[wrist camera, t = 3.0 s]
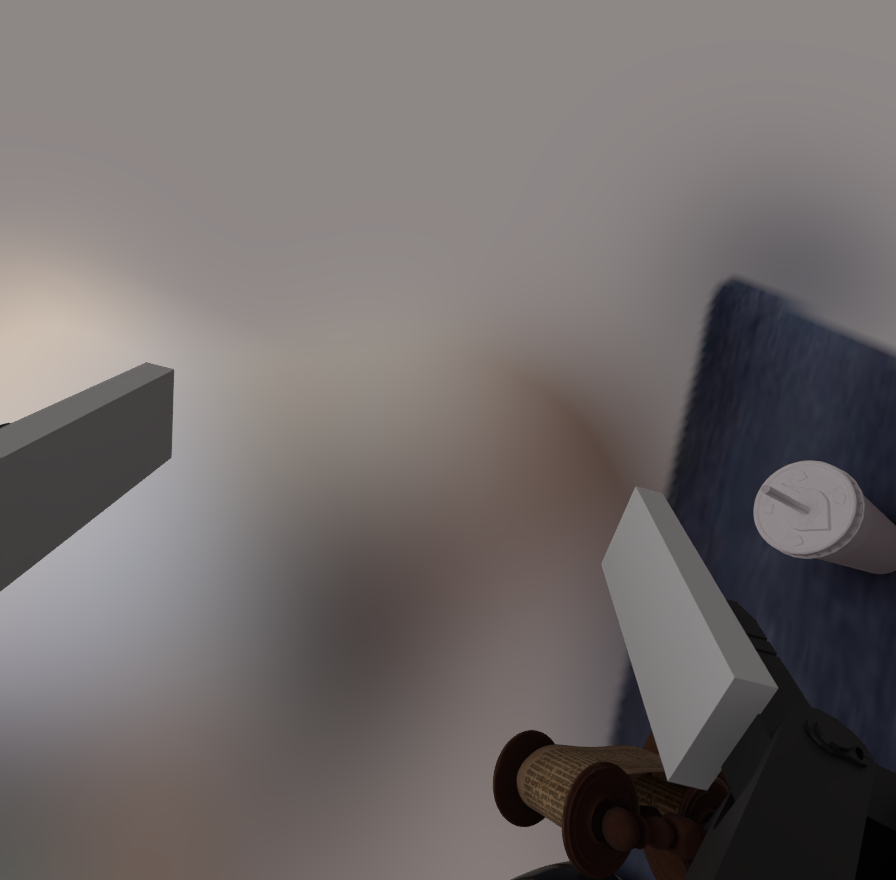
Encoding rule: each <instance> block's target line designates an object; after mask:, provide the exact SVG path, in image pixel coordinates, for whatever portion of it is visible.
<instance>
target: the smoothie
mask: <svg viewBox="0 0 896 880" xmlns="http://www.w3.org/2000/svg"><path fill="white" fill-rule="evenodd" d="M754 520H755V524H756V527H757V529H758V531H759V533H760V535H761V536H762V537H763V539H764V540H765V541H766V542H767V543H769V544H770V545H771V546H773V547H774V548H776V549H778V550H779V551H781V552H782V553H785V554H787V555H790V556H793V557H796V558H805V559H812V558H817V559H821V560H825V561H828V562H832V563H836V564H840V565H843V566H847V567H851V568H855V569H858V570H862V571H866V572H870V573H874V574H887V573H891V572H894V571H896V525H894V524H893V523H892V522H891V521H890V520H889V519H888V518H887V517H886V516H885V515H884V514H883V513H882V512H881V511H880V510H879V509H877V508H876V507H875V506H874V505H873V504H872V503H871V502H870V501H869V500H868V499H867V498H866V497H865V496H864V495H863V493H862V491H861V489H860V487H859V486H858V484H857V482H856V481H855V480H854V479H853V478H852V477H851V476H850V475H849V474H847V473H846V472H844V471H842V470H840V469H838V468H836V467H834V466H832V465H830V464H827V463H824V462H820V461H800V462H796V463H792V464H789V465H787V466H785V467H783V468H781V469H779V470H778V471H776V472H775V473H773V474H772V475H771V476H770V477H769V478H768V479H767V480H766V481H765V482H764V484H763V485H762V487H761V488H760V490H759V492H758V494H757V496H756V499H755V504H754Z"/></svg>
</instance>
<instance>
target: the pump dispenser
mask: <svg viewBox="0 0 896 880" xmlns="http://www.w3.org/2000/svg"><path fill="white" fill-rule="evenodd" d="M511 880H623V879H621V878H620V877H619V876H617V875H616V874H614V873H613V874H612V875H610V876H608V877H605V878H602V879H592V878H588V877H586V876H584V875H583V874H581V873H580V872H579V871H578V870H576V868H575V867H574V866H573V865H572V863H571V862H570V861H567V862H561V863H556V864H552V865H548V866H544V867H541V868H538V869H535V870H532V871H530V872H527V873H525V874H523V875H520V876H518V877H516V878H513V879H511Z"/></svg>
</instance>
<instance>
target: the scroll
mask: <svg viewBox="0 0 896 880" xmlns="http://www.w3.org/2000/svg"><path fill="white" fill-rule="evenodd" d="M730 791H731V790H730V788H729V785H728V783H727V781H726V778H725V776H724V773H723V771H722V770H721V771H720V773H719V774H718V776H717V777H716V778H715V780H714V781H713V783H712V784H711V786H710V787H709V789H708V790H707V791H706V790H702V789H698V788H694V787H689V786H685V785H681V784H677V783H673V782H668V780H667V777H666V774H665V771H664V767H663V764H662V761H661V758H660V754H659V751H658V748H657V744H656V741H655V738H654V735H653V731H652V732H651V734H650V735H649V737H648V739H647V741H646V743H645V745H644V747H643V749H642V748H639V747H636V746H604V747H578V746H567V745H556V744H554V742H553V741H552V740H551V739H550V738H549V737H548V736H547V735H546V734H544V733H542V732H539V731H534V730H529V731H524V732H521V733H519V734H517V735H516V736H514V737H513V738H512V739H511V740H510V741H509V742H508V743H507V744H506V745H505V747H504V748H503V750H502V751H501V753H500V755H499V757H498V760H497V763H496V766H495V770H494V776H493V792H494V798H495V802H496V805H497V807H498V809H499V811H500V813H501V814H502V815H503V817H504V818H505V819H506V820H507V821H509V822H510V823H512V824H514V825H516V826H520V827H529V826H532V825H535V824H537V823H539V822H540V821H541V820H543V819H544V818H545V817H546V818H548V819H549V820H551V821H552V822H554V823H555V824H557V825H558V826H560V827H562V837H563V842H564V847H565V850H566V853H567V856H568V858H569V860H570V862H571V863H572V865H573V866H574V867H575V868H576V870H578V871H579V872H580V873H581V874H583V875H584V876H586V877H588V878H592V879H602V878H605V877H608V876H610V875H612V874H613V873H614V872H616V871H617V870H618V869H619V868H620V867H621V866H622V865H623V863H624V862H625V860H626V859H627V857H628V855H629V854H630V851H631V850H632V849H634V848H637V849H644V852H645V855H646V857H647V860H648V863H649V865H650V867H651V870H652V872H653V874H654V876H655V878H656V880H684V878H685V876H686V874H687V872H688V870H689V868H690V866H691V864H692V862H693V860H694V858H695V856H696V854H697V852H698V850H699V848H700V846H701V844H702V842H703V840H704V838H705V836H706V834H707V832H708V831H707V830H706V829H705V828H704V827H705V825H706V824H707V823H708V821H709V820H710V819H711V817H712V816H713V814H714V813H715V812H716V810H717V809H718V808H719V806H720V805H721V803H722V802H723V801H724V799H725V798H726V797H727V795H728V794H729V792H730Z"/></svg>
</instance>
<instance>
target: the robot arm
mask: <svg viewBox="0 0 896 880" xmlns="http://www.w3.org/2000/svg"><path fill="white" fill-rule="evenodd" d="M173 388H174V369H170V368H166V367H162V366H158V365H154V364H151V363H147V362H146V363H144V364H142V365H140V366H137V367H135V368H133V369H131V370H129V371H126V372H124V373H122V374H120V375H118V376H115V377H113V378H111V379H109V380H106V381H104V382H102V383H100V384H97V385H95V386H93V387H91V388H89V389H86V390H84V391H82V392H80V393H78V394H75V395H73V396H71V397H69V398H66V399H64V400H62V401H60V402H58V403H55V404H53V405H51V406H49V407H47V408H44V409H42V410H40V411H38V412H35V413H33V414H31V415H29V416H27V417H24V418H22V419H20V420H18V421H15V422H13V423H6V424H2V425H0V591H2V590H3V589H4V588H5V587H7V586H8V585H9V584H10V583H12V582H13V581H14V580H16V579H17V578H18V577H19V576H21V575H22V574H23V573H24V572H26V571H27V570H28V569H30V568H31V567H32V566H33V565H35V564H36V563H37V562H38V561H40V560H41V559H42V558H44V557H45V556H46V555H47V554H49V553H50V552H51V551H53V550H54V549H55V548H56V547H58V546H59V545H60V544H61V543H63V542H64V541H65V540H67V539H68V538H69V537H71V536H72V535H73V534H74V533H75V532H77V531H78V530H79V529H81V528H82V527H83V526H85V525H86V524H87V523H88V522H90V521H91V520H92V519H93V518H95V517H96V516H97V515H99V514H100V513H101V512H102V511H104V510H105V509H106V508H107V507H109V506H110V505H111V504H113V503H114V502H115V501H117V500H118V499H119V498H120V497H122V496H123V495H124V494H125V493H126V492H128V491H129V490H130V489H132V488H133V487H134V486H136V485H137V484H138V483H139V482H141V481H142V480H143V479H145V478H146V477H147V476H148V475H150V474H151V473H152V472H153V471H155V470H156V469H157V468H159V467H160V466H161V465H162V464H164V463H165V462H166V461H168V460H169V459H170V458H171V455H172V453H171V452H172V422H173V421H172V420H173ZM601 565H602V569H603V571H604V575H605V578H606V581H607V585H608V587H609V591H610V595H611V598H612V601H613V604H614V608H615V611H616V614H617V617H618V620H619V624H620V627H621V630H622V633H623V636H624V640H625V643H626V647H627V650H628V653H629V657H630V660H631V663H632V666H633V670H634V673H635V676H636V679H637V683H638V686H639V689H640V692H641V696H642V699H643V702H644V705H645V709H646V712H647V715H648V718H649V722H650V725H651V728H652V731H653V735H654V738H655V741H656V744H657V748H658V751H659V754H660V758H661V761H662V764H663V767H664V771H665V774H666V777H667V780H668V782H673V783H677V784H681V785H685V786H689V787H694V788H698V789H702V790H706V791H707V790H708V789H709V787H710V786H711V784H712V783H713V781H714V780H715V778H716V777H717V776H718V774H719V773H720V771H721V770H722V771H723V773H724V776H725V778H726V781H727V783H728V785H729V788H730V790H731V791H730V792H729V794H728V795H727V797H726V798H725V799H724V801H723V802H722V803H721V805H720V806H719V808H718V809H717V810H716V812H715V813H714V814H713V816H712V817H711V819H710V820H709V821H708V823H707V824H706V825H705V827H704V828H705V829H706V830H707V831H708V832H707V834H706V836H705V838H704V840H703V842H702V844H701V846H700V848H699V850H698V852H697V854H696V856H695V858H694V860H693V862H692V864H691V866H690V868H689V870H688V872H687V874H686V876H685V878H684V880H896V774H895V773H893V772H891V771H889V770H887V769H885V768H883V767H881V766H879V765H877V764H875V763H874V760H873V758H872V756H871V755H870V753H869V751H868V749H867V748H866V746H865V745H864V744H863V743H862V742H861V741H860V739H859V738H858V737H857V736H856V735H855V734H854V733H853V732H852V731H851V730H850V729H848V728H847V727H846V726H845V725H843V724H842V723H841V722H839V721H838V720H837V719H835V718H834V717H832V716H830V715H828V714H826V713H825V712H823V711H821V710H818V709H815V708H812V707H811V706H810V705H809V703H808V702H807V700H806V699H805V697H804V695H803V694H802V692H801V691H800V689H799V688H798V686H797V685H796V683H795V681H794V680H793V678H792V677H791V675H790V674H789V672H788V670H787V669H786V667H785V666H784V664H783V663H782V661H781V659H780V658H779V657H776V654H777V653H776V652H775V650H774V648H773V647H772V645H771V644H770V642H767V638H766V636H765V634H764V633H763V631H762V630H761V628H760V627H759V625H758V623H757V622H756V620H755V619H754V618H753V617H752V616H751V615H750V614H749V613H747V612H746V611H745V610H744V609H743V608H742V607H741V606H740V605H739V604H738V603H737V602H735V601H731V600H727V599H725V598H724V596H723V594H722V593H721V591H720V589H719V588H718V586H717V584H716V583H715V581H714V579H713V578H712V576H711V574H710V573H709V571H708V569H707V568H706V566H705V564H704V562H703V561H702V559H701V557H700V556H699V554H698V552H697V551H696V549H695V547H694V546H693V544H692V542H691V541H690V539H689V537H688V536H687V534H686V532H685V531H684V529H683V527H682V526H681V524H680V522H679V521H678V519H677V517H676V516H675V514H674V512H673V511H672V509H671V507H670V505H669V504H668V502H667V500H666V499H665V497H664V495H663V494H662V493H660V492H656V491H652V490H648V489H644V488H640V487H635V489H634V492H633V494H632V496H631V498H630V501H629V503H628V505H627V507H626V510H625V512H624V514H623V516H622V519H621V521H620V523H619V526H618V528H617V530H616V532H615V535H614V537H613V539H612V541H611V543H610V546H609V548H608V550H607V553H606V555H605V557H604V559H603V561H602V564H601Z"/></svg>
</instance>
